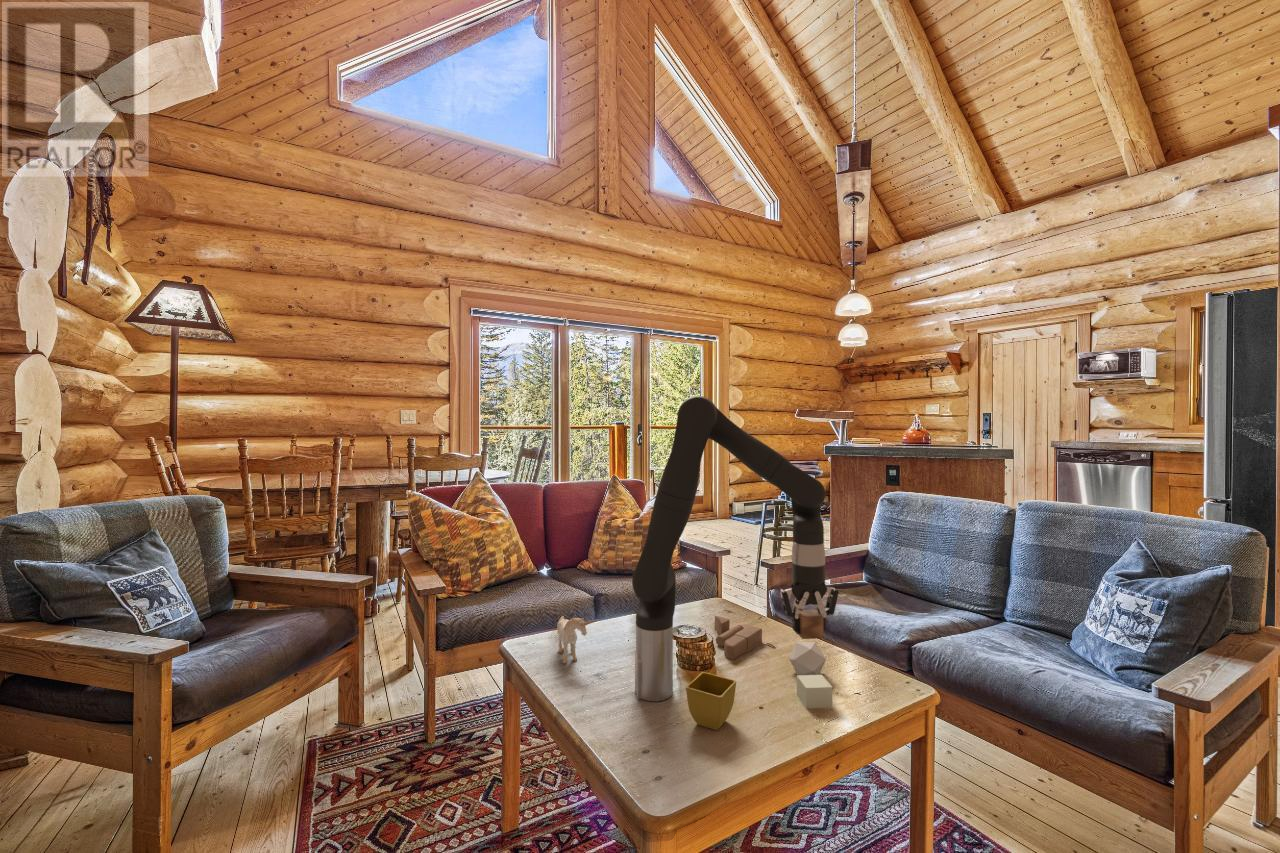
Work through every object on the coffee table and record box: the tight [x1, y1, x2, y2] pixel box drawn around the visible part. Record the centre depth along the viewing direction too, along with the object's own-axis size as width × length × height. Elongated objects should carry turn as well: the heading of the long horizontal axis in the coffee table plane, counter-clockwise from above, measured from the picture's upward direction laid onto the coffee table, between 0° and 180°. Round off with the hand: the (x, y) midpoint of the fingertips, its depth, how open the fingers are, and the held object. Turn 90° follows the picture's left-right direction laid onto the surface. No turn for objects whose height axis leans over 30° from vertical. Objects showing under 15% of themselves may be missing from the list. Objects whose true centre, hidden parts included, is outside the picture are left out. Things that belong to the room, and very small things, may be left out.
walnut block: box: [797, 609, 825, 640], centre depth 134 cm, size 5×5×5 cm
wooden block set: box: [714, 615, 763, 661], centre depth 172 cm, size 17×6×18 cm
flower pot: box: [685, 671, 737, 731], centre depth 127 cm, size 9×9×9 cm
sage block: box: [796, 674, 833, 709], centre depth 137 cm, size 6×6×5 cm
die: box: [788, 641, 827, 675], centre depth 151 cm, size 8×9×10 cm
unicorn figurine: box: [556, 615, 599, 664], centre depth 161 cm, size 7×20×13 cm, turn 36°
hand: (809, 632), depth 134 cm, fingers closed on walnut block, 5 cm apart
